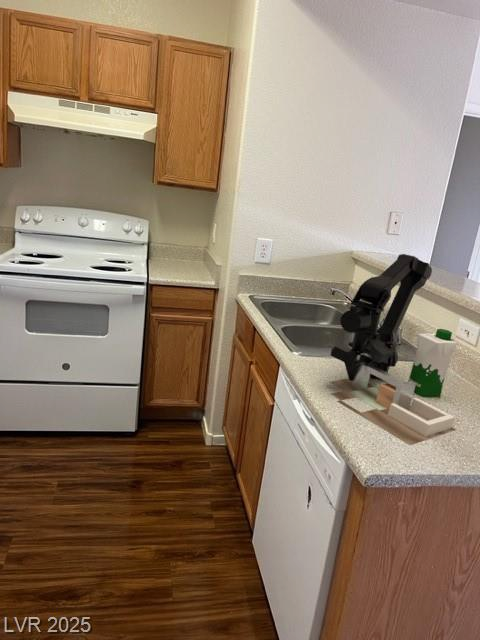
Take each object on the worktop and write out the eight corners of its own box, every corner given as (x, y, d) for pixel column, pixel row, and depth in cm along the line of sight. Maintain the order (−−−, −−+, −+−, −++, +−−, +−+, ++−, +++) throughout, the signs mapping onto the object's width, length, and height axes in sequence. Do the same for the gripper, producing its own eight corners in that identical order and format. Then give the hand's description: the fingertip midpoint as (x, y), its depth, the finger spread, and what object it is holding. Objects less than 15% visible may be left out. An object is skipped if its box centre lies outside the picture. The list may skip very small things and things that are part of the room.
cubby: (413, 408, 127) (416, 397, 126) (451, 428, 118) (454, 417, 118) (387, 414, 120) (390, 404, 120) (425, 436, 112) (428, 425, 111)
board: (355, 381, 143) (356, 377, 143) (454, 435, 118) (456, 429, 118) (309, 390, 132) (310, 385, 132) (408, 451, 107) (409, 445, 107)
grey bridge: (361, 384, 138) (367, 360, 135) (409, 409, 125) (416, 383, 123) (347, 387, 134) (353, 362, 132) (395, 413, 122) (402, 386, 120)
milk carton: (444, 401, 138) (463, 336, 133) (420, 403, 134) (438, 336, 129) (422, 388, 146) (439, 326, 140) (399, 389, 142) (415, 325, 137)
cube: (387, 399, 130) (391, 382, 129) (402, 407, 126) (407, 390, 125) (375, 402, 127) (379, 384, 126) (391, 410, 123) (395, 392, 122)
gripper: (367, 339, 120) (354, 396, 124) (411, 334, 131) (398, 387, 135) (335, 325, 128) (323, 379, 132) (379, 322, 139) (367, 371, 144)
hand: (354, 379), depth 136 cm, fingers closed on grey bridge, 3 cm apart
